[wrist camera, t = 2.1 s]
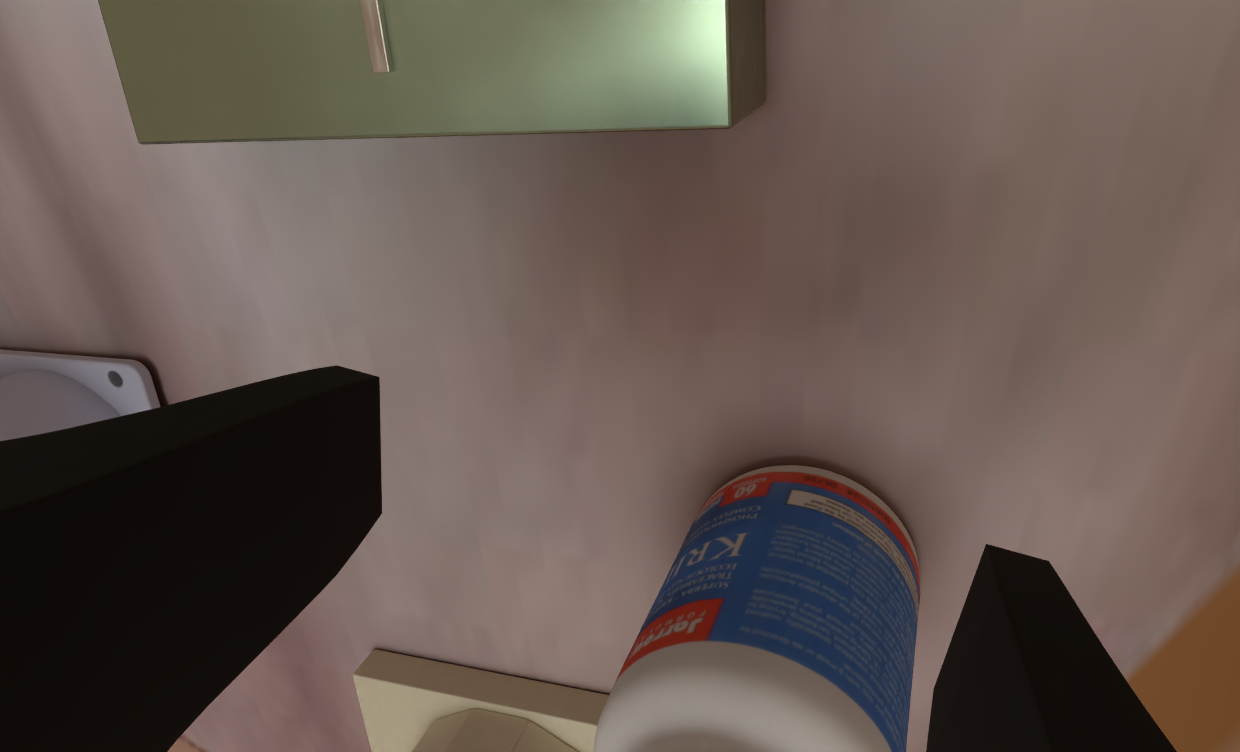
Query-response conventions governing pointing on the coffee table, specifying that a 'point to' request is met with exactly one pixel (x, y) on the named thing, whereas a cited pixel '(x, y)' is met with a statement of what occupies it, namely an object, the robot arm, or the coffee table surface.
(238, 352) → the coffee table surface
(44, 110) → the coffee table surface
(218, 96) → the panel
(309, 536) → the robot arm
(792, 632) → the pill bottle
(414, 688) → the switch block
